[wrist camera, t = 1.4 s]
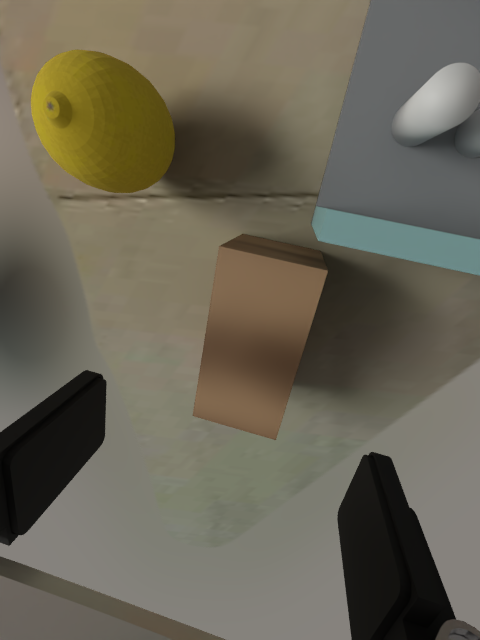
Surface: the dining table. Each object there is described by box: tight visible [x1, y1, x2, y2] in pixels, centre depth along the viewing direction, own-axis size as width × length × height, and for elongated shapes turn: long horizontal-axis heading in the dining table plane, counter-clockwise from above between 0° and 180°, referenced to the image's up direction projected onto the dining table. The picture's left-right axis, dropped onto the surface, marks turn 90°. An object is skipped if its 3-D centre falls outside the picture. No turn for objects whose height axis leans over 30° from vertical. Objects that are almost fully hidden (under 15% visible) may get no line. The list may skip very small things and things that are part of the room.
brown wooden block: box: [193, 234, 328, 440], centre depth 18 cm, size 10×5×6 cm, turn 168°
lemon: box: [31, 50, 175, 193], centre depth 15 cm, size 6×6×8 cm
